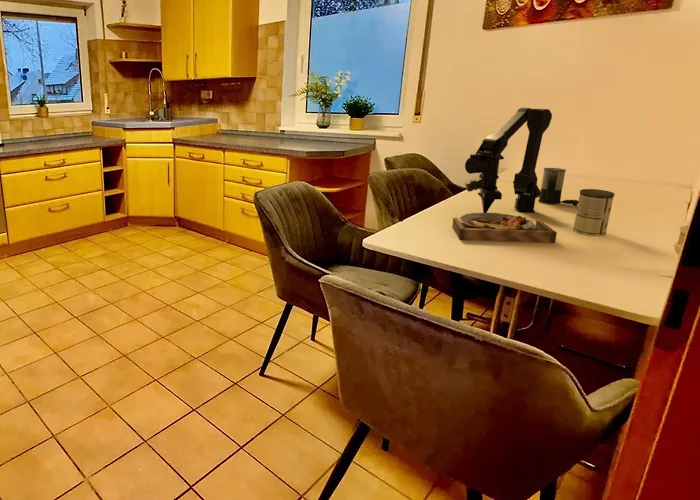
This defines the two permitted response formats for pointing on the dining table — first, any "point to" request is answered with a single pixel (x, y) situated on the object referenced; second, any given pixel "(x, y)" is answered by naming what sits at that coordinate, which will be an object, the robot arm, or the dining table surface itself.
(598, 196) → the coffee can
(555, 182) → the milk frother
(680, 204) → the dining table surface
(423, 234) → the dining table surface
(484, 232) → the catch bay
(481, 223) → the food plate
